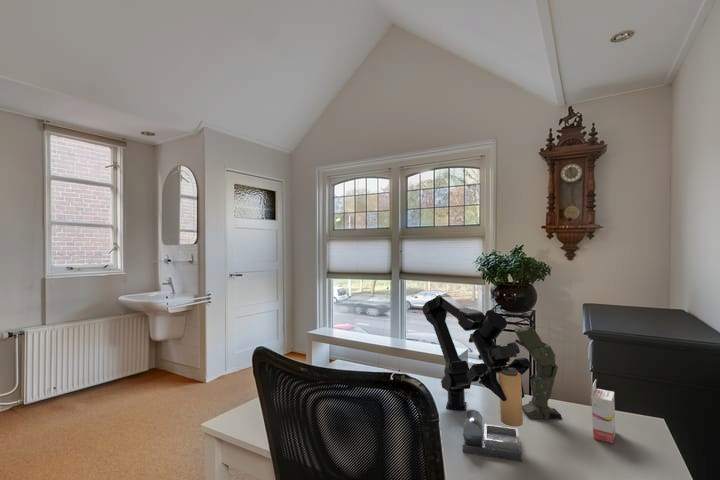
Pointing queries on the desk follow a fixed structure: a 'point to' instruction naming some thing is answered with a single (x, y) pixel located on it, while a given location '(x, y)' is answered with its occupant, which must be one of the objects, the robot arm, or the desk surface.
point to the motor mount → (490, 439)
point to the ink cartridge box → (603, 414)
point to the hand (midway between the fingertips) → (514, 399)
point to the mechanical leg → (539, 374)
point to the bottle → (511, 397)
